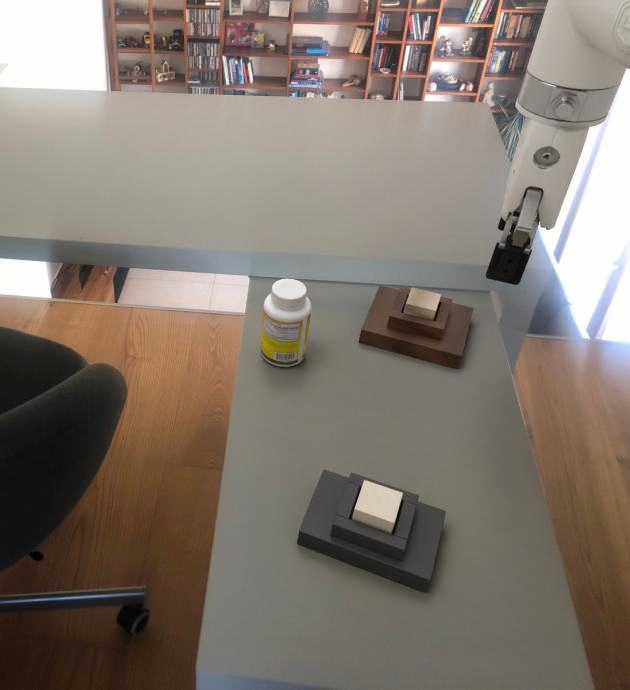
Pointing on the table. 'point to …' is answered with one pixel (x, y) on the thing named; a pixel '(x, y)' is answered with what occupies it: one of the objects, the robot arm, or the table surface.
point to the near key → (377, 506)
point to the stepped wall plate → (373, 532)
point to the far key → (422, 303)
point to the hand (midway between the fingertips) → (507, 254)
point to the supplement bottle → (285, 323)
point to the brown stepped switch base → (416, 328)
